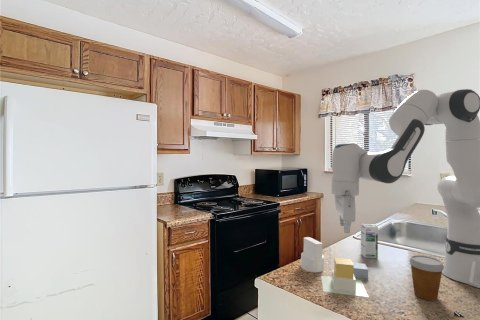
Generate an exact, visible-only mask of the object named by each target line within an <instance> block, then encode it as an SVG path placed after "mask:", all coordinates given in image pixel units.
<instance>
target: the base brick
mask: <svg viewBox="0 0 480 320" xmlns="http://www.w3.org/2000/svg"><path fill="white" fill-rule="evenodd" d="M331 277H332V284H333V289H337V290H345V291H353V292H356V280H357V279H356V277H355V276H354V274H353V279H352V278H343V277H336V275H335V271H334V268H331Z"/></svg>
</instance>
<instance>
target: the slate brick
mask: <svg viewBox="0 0 480 320" xmlns="http://www.w3.org/2000/svg"><path fill="white" fill-rule="evenodd" d="M352 263H353V265H354V269H353V274H354V276H355V278H357V279H358V278H359V279H369V269H368V267H367V265H366V263H362V262H361V263H360V262H352Z"/></svg>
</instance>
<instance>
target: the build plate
mask: <svg viewBox="0 0 480 320" xmlns="http://www.w3.org/2000/svg"><path fill="white" fill-rule="evenodd" d="M320 277H321V278H320V279H321V284H322V291H323V292H325V293H331V294H332V293H333V294H340V295H348V296H357V297H363V298H370V297H369V294H368V292H367V290H366V288H365V286H364V285H365V284H364V283H363V281H362V280H360V279H356V292H353V291H345V290H337V289H333V284H332V276H325V275H320Z"/></svg>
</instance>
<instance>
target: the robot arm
mask: <svg viewBox="0 0 480 320" xmlns="http://www.w3.org/2000/svg"><path fill="white" fill-rule="evenodd" d="M479 112H480V96H479V93H477V92H476V91H474V90H473V89H469V88H467V89H466V88H463V89H457V90H454V91H448V92H445V93H441V94H437V95H436V93H435V92H433V90H429V89H419V90H416V91H414V92H413V93H412V94H410V95H409V96H407V97H406V98H405V99H404V100H403V101H401V103H400V104H399V105H398V106H397V108H395V110H393V112H392V113H391V115H390V117H389V119H388V124H389V125H388V126H389V127H390V130H391V131H392V132H393V133H394V134H395V136H396V135H397V138H396V140H394V143H393V144H392V145H391V147H390V148H389V149H386V150H384V151H379V152H378V151H377V152H376V151H375V152H374V151H373V152H372V151H371V152H370V151H368V150H365V149H364V148H363V147H361V146H360V145H359V144H358V143H357V142H356V141H355V142H353V141H351V142H349V141H348V142H343V143H338V144H336V145H335V146H334V148H333V151H332V157H331V170H332V176H331V194H333V195H334V201H335V202H334V203H335V210H336V211H337V213H338V217H339V225H340V226H341V227H343V232H344V234H350V233H351V227H352V223H355V222H356V200H355V199H356V197H357V196H359V195H360V179H362V180H367V181H376V182H379V183H382V184H393V183H395V182H397V181H398V180H399V179H400V178H402V175H403V174H404V171H405V169H406V167H407V166H406V165H407V163H408V161H409V159H410V157H411V156H412V155H413V153H414V151H415V150H416V148H417V146H418V145H419V143H420V142H421V140H422V138H423V136H424V133H425V131H426V129H425V126H433V125H441V124H442V125H444V126H445V153H446V162H447V163H448V164H449V165H450V167H451V169H452V171H453V175H447V176H445V177H442V178H441V179H440V180H439V182H438V183H437V191H438V193H439V195H440V196H441V197H442V201H443V205H444V208H445V212H446V218H447V219H446V220H447V225H446V226H447V227H446V228H447V233H446V237H445V259H444V264H443V266H444V269H443V271H442V275H444V276H446V277H447V278H449V279H451V280H453V281H457V282H459V283H462V284H466V285H469V286H471V287H475V288H478V289H480V212H479V210H478V208H479V209H480V117H479V115H478V114H479Z"/></svg>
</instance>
